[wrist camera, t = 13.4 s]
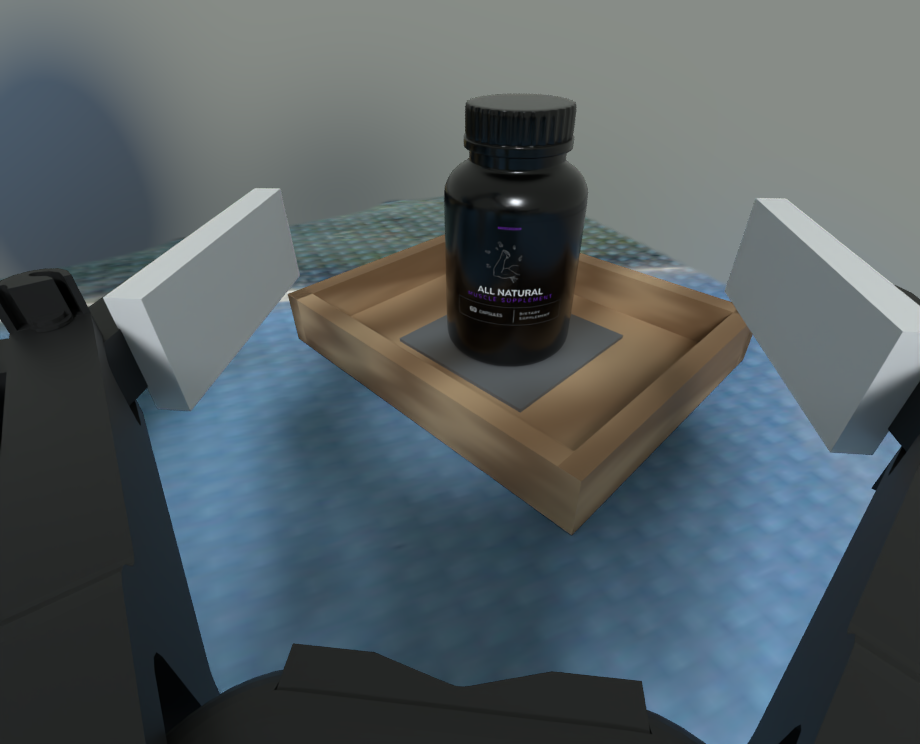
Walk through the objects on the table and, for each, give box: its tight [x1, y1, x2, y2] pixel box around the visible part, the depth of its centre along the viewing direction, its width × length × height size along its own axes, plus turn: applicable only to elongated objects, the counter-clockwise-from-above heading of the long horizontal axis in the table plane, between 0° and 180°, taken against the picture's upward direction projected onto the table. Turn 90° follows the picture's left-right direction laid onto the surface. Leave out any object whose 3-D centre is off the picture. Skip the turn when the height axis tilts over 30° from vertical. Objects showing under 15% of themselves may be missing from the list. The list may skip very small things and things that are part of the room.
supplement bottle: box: [444, 94, 588, 367], centre depth 25 cm, size 7×7×12 cm
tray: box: [288, 235, 752, 535], centre depth 28 cm, size 20×16×3 cm
